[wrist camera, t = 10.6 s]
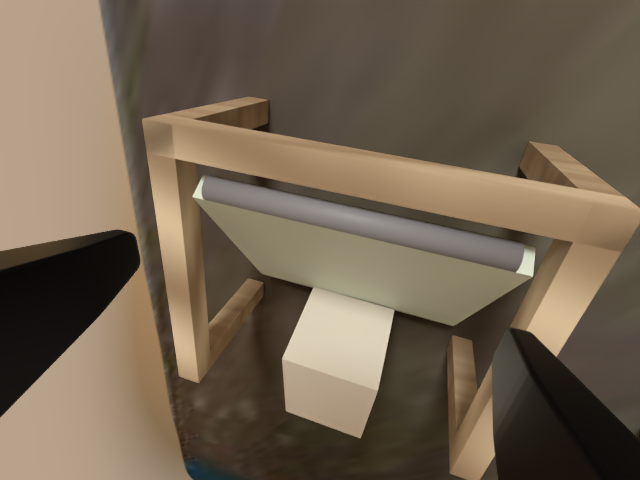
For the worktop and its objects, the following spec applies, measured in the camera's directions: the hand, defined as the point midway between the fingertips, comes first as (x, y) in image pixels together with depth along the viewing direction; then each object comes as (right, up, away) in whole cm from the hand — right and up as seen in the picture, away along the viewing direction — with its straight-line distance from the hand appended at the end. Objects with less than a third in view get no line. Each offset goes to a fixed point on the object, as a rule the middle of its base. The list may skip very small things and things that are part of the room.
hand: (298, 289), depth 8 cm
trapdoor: (+2, +1, +9) cm, 9 cm away
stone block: (+2, -4, +11) cm, 12 cm away
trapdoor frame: (+3, +1, +13) cm, 13 cm away
